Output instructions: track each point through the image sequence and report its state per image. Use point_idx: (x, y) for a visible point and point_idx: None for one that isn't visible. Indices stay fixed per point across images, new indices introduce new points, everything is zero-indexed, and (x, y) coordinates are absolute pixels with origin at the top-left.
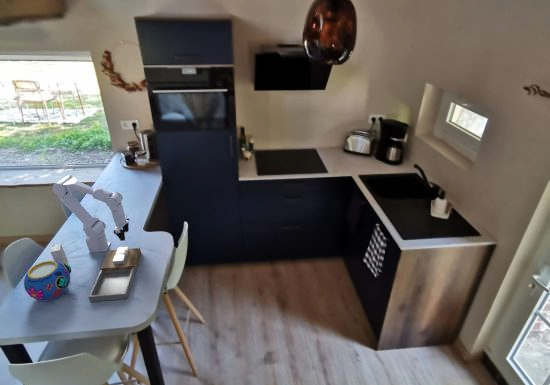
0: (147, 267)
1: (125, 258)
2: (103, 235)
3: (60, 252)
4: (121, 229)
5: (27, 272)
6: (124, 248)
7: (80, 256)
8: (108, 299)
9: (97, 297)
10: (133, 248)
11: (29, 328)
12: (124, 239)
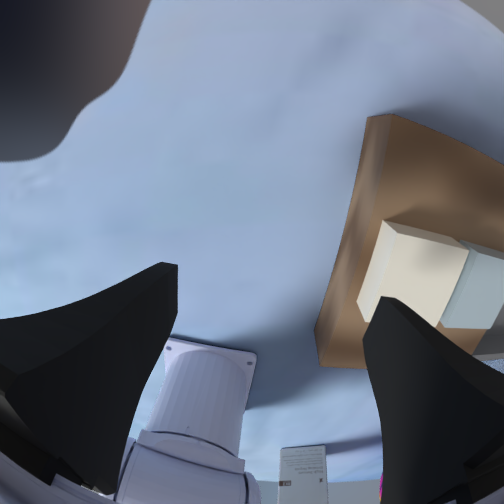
0: (498, 106)
1: (479, 246)
2: (197, 437)
3: None
4: (475, 479)
5: None
6: (407, 268)
7: (260, 428)
8: None
9: None
10: (381, 177)
11: None
12: (404, 306)
